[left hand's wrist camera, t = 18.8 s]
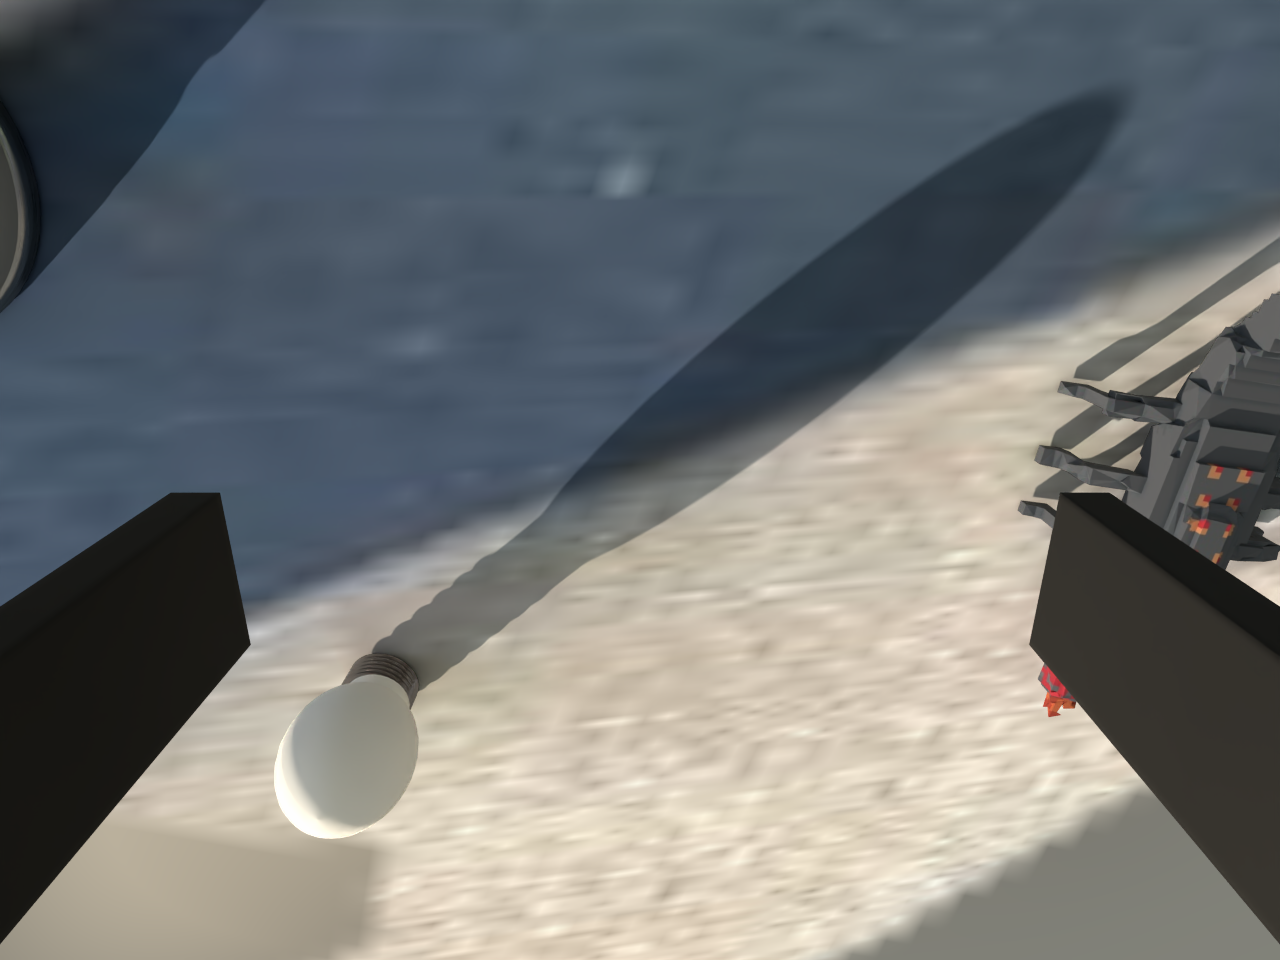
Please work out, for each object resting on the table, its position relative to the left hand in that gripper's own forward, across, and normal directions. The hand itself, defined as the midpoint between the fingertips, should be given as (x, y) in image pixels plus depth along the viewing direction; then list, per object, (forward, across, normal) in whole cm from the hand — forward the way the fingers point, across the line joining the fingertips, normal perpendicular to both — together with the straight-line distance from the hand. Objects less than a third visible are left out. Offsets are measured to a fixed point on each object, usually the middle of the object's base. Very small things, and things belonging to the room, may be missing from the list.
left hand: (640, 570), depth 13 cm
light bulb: (+29, -15, -22) cm, 39 cm away
